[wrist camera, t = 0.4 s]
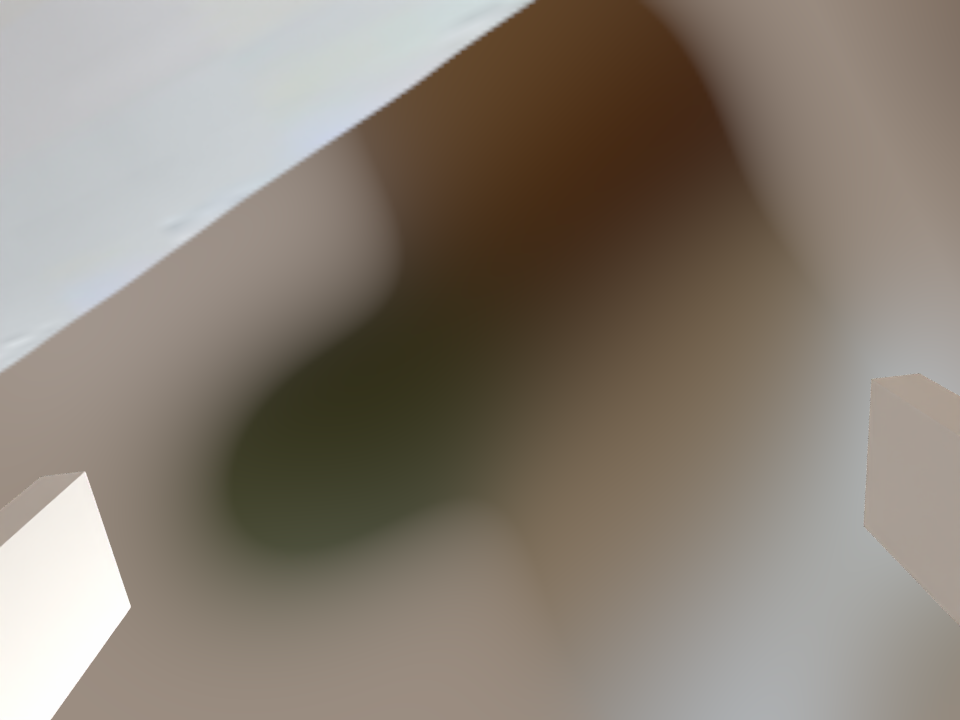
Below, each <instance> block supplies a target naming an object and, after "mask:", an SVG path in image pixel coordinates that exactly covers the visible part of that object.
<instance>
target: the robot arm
mask: <svg viewBox="0 0 960 720" xmlns="http://www.w3.org/2000/svg"><path fill="white" fill-rule="evenodd" d="M865 493H866V494H865V511H864V527H865V528H866V529H867V530H868V531H869V532H870V533H871V534H872V535H873V536H874V537H875V538H876V539H877V541H878V542H879V543H880V544H881V545H882V546H883V547H884V548H885V549H886V550H887V551H888V552H889V553H890V554H891V555H892V556H893V557H894V558H895V559H896V560H897V561H898V562H899V563H900V564H901V566H902V567H903V568H904V569H905V570H906V571H907V572H908V573H909V574H910V575H911V576H912V577H913V578H914V579H915V580H916V581H917V582H918V583H919V584H920V585H921V586H922V587H923V588H924V589H925V591H927V593H929V595H930V596H931V597H932V598H933V599H934V600H935V601H936V602H937V603H938V604H939V605H940V606H941V607H942V608H943V609H944V610H945V611H946V612H947V613H948V614H949V616H950V617H951V618H952V619H953V620H954V621H956V623H957V624H958V625H959V626H960V396H958V395H956V394H955V393H953V392H951V391H949V390H948V389H946V388H944V387H942V386H941V385H939V384H937V383H935V382H933V381H932V380H930V379H928V378H926V377H925V376H923V375H921V374H911V375H903V376H893V377H885V378H876V379H871V398H870V416H869V436H868V454H867V474H866V492H865ZM130 607H131V606H130V603H129V600H128V597H127V594H126V591H125V588H124V585H123V582H122V579H121V576H120V574H119V570H118V567H117V564H116V561H115V558H114V555H113V552H112V549H111V546H110V543H109V541H108V537H107V535H106V532H105V528H104V526H103V523H102V520H101V516H100V514H99V511H98V508H97V505H96V502H95V499H94V496H93V493H92V490H91V487H90V484H89V481H88V478H87V475H86V472H85V471H83V472H75V473H66V474H58V475H49V476H41V477H40V478H39V479H37V480H36V481H35V482H34V483H33V484H31V485H30V486H29V487H28V488H26V489H25V490H24V491H23V492H22V493H20V494H19V495H18V496H17V497H15V498H14V499H13V500H12V501H10V502H9V503H8V504H7V505H6V506H4V507H3V508H2V509H1V510H0V720H51V718H52V717H53V716H54V714H55V713H56V711H57V710H58V709H59V707H60V706H61V704H62V703H63V702H64V700H65V699H66V697H67V696H68V695H69V693H70V692H71V690H72V689H73V688H74V686H75V685H76V683H77V682H78V680H79V679H80V678H81V676H82V675H83V674H84V672H85V671H86V669H87V668H88V666H89V665H90V664H91V662H92V661H93V659H94V658H95V657H96V655H97V654H98V652H99V651H100V650H101V648H102V647H103V645H104V644H105V643H106V641H107V640H108V638H109V637H110V636H111V634H112V633H113V631H114V630H115V628H116V627H117V626H118V624H119V623H120V621H121V620H122V619H123V617H124V616H125V615H126V613H127V612H128V610H129V609H130Z"/></svg>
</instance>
